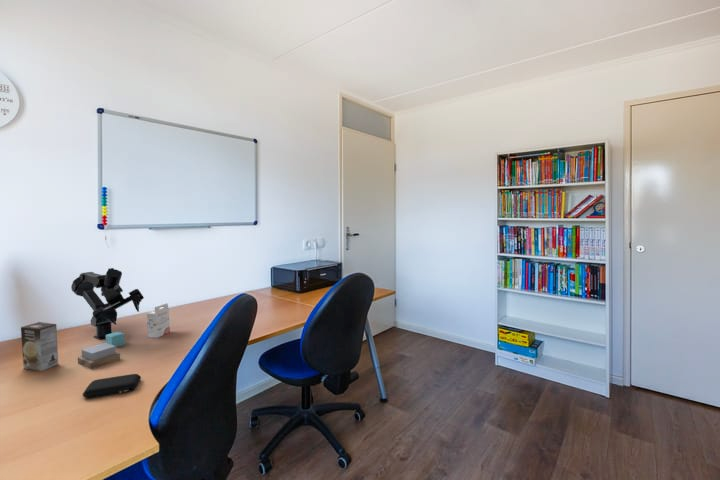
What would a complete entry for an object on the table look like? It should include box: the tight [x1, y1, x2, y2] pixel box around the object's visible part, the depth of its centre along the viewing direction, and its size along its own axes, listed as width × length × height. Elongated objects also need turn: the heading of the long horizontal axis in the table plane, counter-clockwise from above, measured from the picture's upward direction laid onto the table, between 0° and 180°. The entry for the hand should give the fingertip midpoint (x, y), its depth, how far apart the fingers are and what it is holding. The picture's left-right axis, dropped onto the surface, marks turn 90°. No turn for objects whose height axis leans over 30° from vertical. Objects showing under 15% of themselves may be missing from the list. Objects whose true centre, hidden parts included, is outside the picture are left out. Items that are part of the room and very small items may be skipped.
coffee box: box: [20, 321, 59, 372], centre depth 129 cm, size 9×6×16 cm
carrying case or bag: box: [82, 373, 142, 400], centre depth 113 cm, size 11×3×15 cm
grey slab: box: [81, 342, 117, 361], centre depth 134 cm, size 8×8×3 cm
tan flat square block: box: [77, 351, 121, 370], centre depth 134 cm, size 10×10×3 cm
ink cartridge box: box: [146, 303, 171, 339], centre depth 163 cm, size 9×5×15 cm, turn 168°
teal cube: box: [105, 331, 126, 347], centre depth 151 cm, size 5×5×5 cm
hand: (127, 317), depth 148 cm, fingers open, 9 cm apart
